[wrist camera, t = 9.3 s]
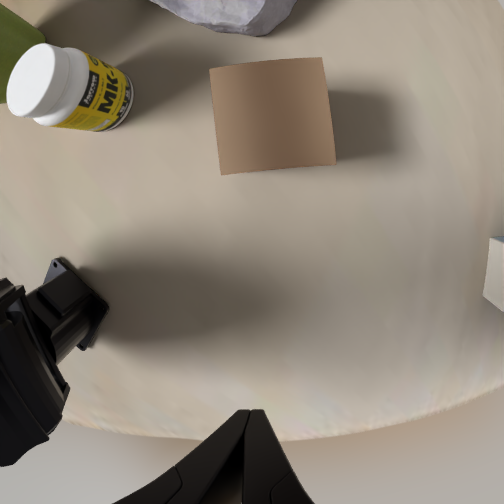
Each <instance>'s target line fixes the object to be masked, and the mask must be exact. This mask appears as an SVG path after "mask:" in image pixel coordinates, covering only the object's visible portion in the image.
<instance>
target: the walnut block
mask: <svg viewBox="0 0 504 504" xmlns="http://www.w3.org/2000/svg"><path fill="white" fill-rule="evenodd" d="M209 73H210V82H211V92H212V101H213V110H214V119H215V128H216V137H217V145H218V154H219V162H220V170H221V175H228V174H236V173H244V172H253V171H263V170H273V169H284V168H295V167H308V166H323V165H336V154H335V145H334V136H333V128H332V120H331V112H330V105H329V98H328V91H327V85H326V79H325V73H324V67H323V61H322V57H321V58H295V59H280V60H269V61H259V62H251V63H243V64H236V65H229V66H223V67H217V68H211V69H209Z"/></svg>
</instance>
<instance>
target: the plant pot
mask: <svg viewBox="0 0 504 504" xmlns="http://www.w3.org/2000/svg"><path fill="white" fill-rule="evenodd" d="M45 39H46V38H45V36H44V34H43V33H41V32H40V31H39V30H37V29H36V28H35V27H33V26H32V25H31V24H29V23H28V22H26V21H25V20H24V19H22V18H21V17H19V16H18V15H16V14H15V13H14V12H12V11H11V10H9V9H8V8H6V7H5V6H4V5H2V4H1V3H0V104H2V103H7V86H8V82H9V79H10V76H11V73H12V71H13V69H14V67H15V65H16V64H17V62H18V61H19V59H20V58H21V57H22V56H23V55H24V54H25V53H26V52H27V51H28V50H29V49H30V48H32V47H33V46H35V45H38V44H42V43H45Z"/></svg>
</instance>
